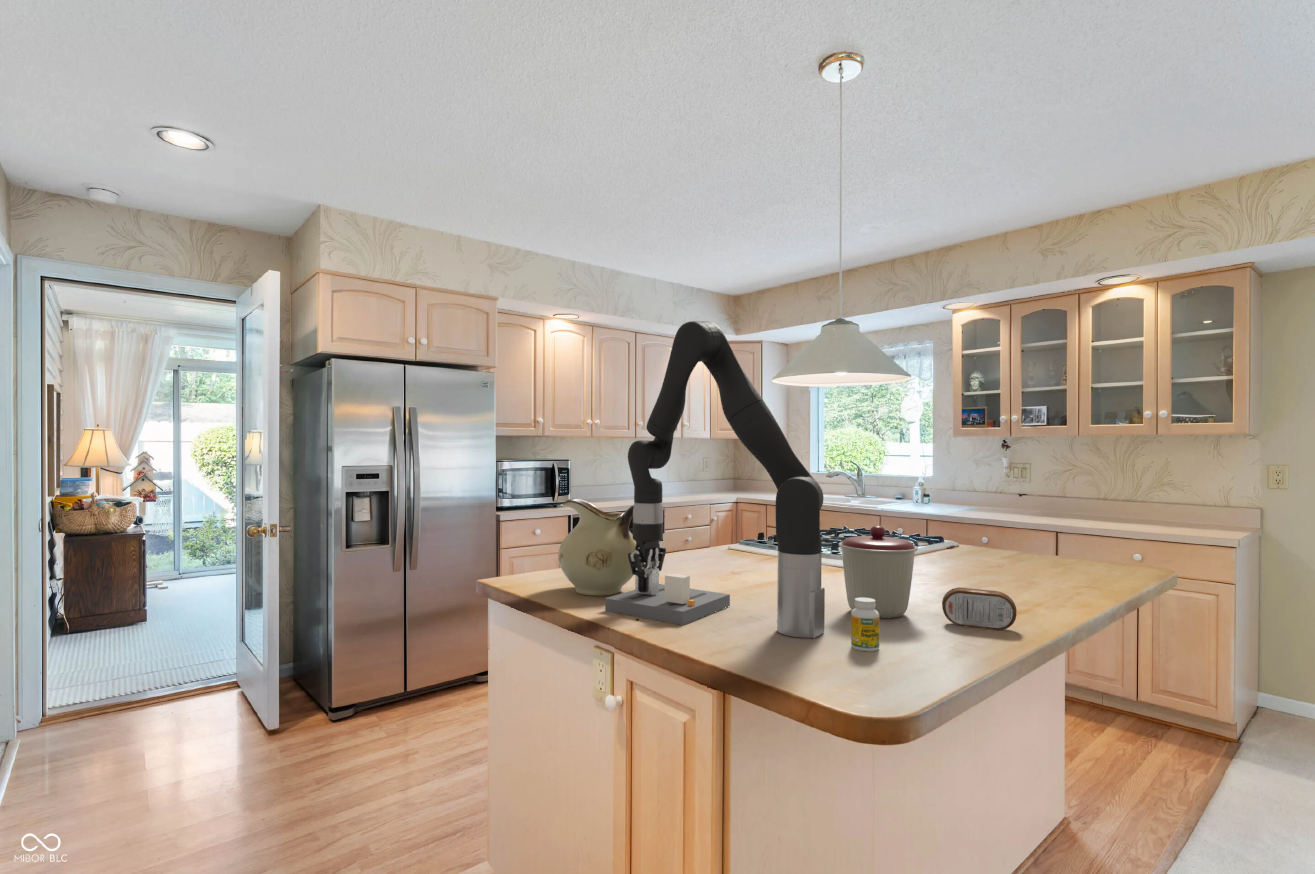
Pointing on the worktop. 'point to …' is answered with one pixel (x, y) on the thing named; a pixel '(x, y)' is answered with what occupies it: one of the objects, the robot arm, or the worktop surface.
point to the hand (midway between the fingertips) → (647, 590)
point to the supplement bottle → (865, 625)
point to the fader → (677, 588)
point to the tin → (979, 608)
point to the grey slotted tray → (667, 605)
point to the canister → (879, 571)
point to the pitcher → (597, 550)
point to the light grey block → (650, 581)
